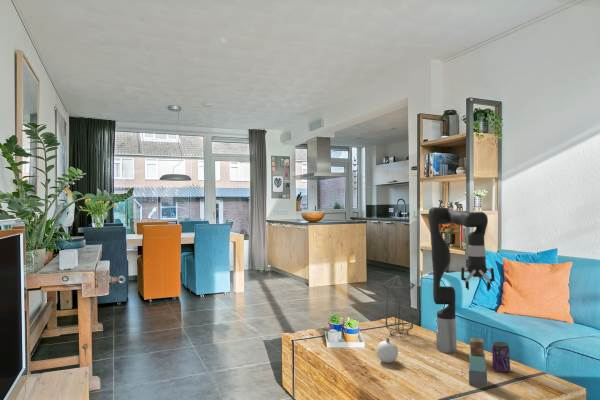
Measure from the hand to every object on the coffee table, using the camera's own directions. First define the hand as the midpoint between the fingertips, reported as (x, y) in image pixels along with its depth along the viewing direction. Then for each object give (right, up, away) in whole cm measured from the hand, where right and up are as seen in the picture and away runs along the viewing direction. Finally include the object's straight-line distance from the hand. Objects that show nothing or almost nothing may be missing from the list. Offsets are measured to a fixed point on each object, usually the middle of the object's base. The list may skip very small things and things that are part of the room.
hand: (478, 290), depth 193 cm
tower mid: (-7, -30, -16) cm, 35 cm away
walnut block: (-7, -24, -16) cm, 30 cm away
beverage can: (+9, -36, -4) cm, 37 cm away
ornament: (-40, -38, +11) cm, 56 cm away
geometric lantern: (-24, -39, +54) cm, 71 cm away
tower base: (-7, -36, -16) cm, 40 cm away
